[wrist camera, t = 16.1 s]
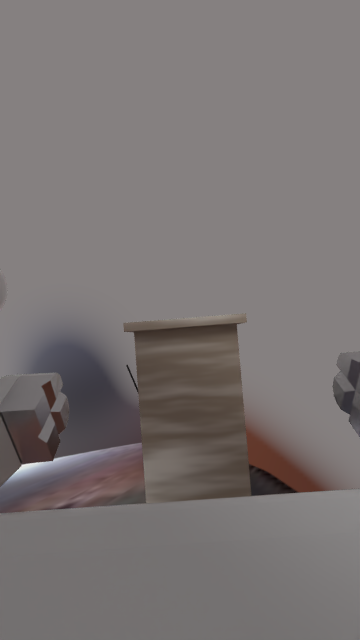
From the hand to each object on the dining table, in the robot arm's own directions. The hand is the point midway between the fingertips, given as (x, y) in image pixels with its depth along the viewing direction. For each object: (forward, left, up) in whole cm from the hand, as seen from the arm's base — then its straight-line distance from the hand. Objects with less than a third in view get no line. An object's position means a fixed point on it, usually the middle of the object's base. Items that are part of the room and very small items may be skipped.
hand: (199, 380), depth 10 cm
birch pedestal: (-27, +22, -23) cm, 42 cm away
